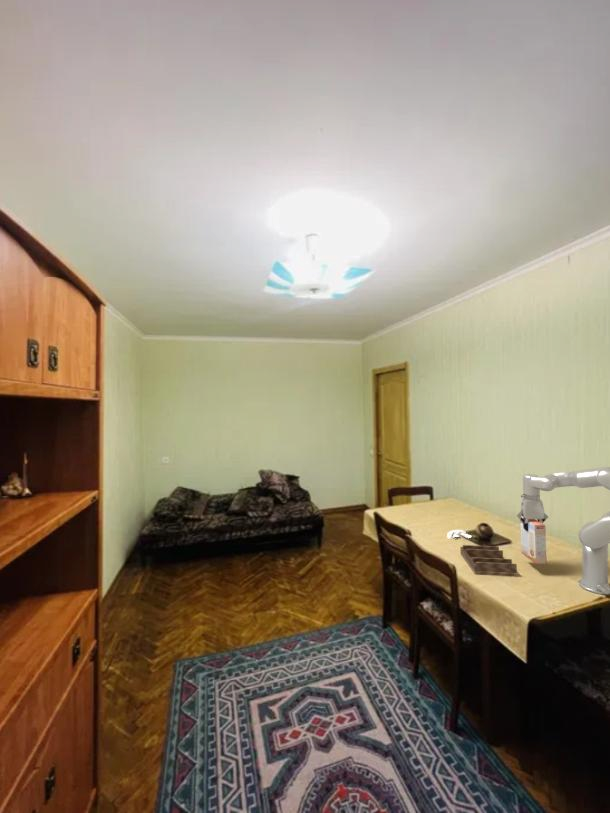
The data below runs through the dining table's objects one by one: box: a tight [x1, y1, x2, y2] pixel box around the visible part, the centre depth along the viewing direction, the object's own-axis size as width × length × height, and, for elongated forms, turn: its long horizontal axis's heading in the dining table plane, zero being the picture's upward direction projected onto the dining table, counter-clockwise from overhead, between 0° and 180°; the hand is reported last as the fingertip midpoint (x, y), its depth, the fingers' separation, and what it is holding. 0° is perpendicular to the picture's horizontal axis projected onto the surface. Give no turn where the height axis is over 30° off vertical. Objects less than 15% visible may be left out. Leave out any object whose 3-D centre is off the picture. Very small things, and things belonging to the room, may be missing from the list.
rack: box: [460, 544, 521, 578], centre depth 188 cm, size 22×24×6 cm
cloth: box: [446, 529, 473, 540], centre depth 230 cm, size 20×22×2 cm
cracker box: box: [519, 516, 548, 565], centre depth 183 cm, size 14×6×21 cm, turn 174°
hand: (532, 529), depth 183 cm, fingers closed on cracker box, 6 cm apart
